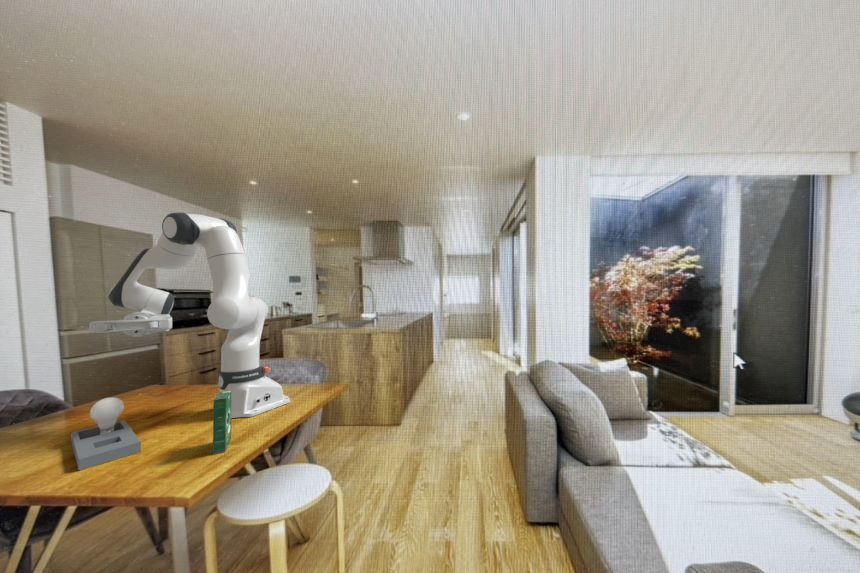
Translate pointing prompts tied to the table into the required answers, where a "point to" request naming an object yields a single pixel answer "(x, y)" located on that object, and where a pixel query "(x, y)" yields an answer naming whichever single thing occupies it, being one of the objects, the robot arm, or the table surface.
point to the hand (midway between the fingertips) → (128, 326)
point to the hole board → (104, 445)
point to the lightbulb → (106, 413)
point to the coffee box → (221, 421)
